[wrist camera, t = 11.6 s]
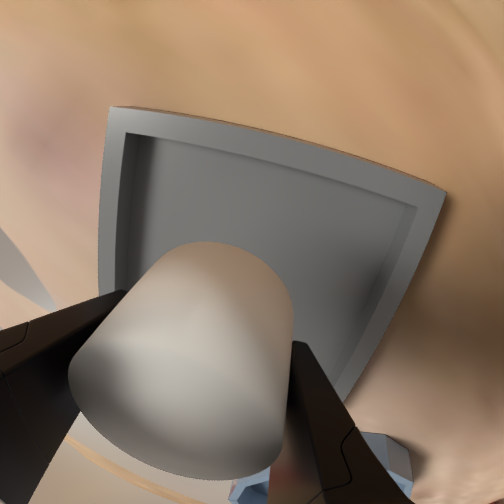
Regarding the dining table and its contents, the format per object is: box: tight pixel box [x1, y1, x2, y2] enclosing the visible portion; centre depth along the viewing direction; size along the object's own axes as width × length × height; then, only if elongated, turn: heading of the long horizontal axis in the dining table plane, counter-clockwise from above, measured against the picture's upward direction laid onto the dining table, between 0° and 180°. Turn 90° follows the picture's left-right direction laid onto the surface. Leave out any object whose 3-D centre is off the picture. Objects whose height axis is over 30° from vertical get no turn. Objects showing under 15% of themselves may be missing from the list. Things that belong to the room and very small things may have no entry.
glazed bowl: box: [228, 432, 414, 504], centre depth 26 cm, size 18×18×4 cm
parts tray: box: [98, 106, 447, 403], centre depth 18 cm, size 17×17×2 cm
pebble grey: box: [68, 242, 294, 480], centre depth 8 cm, size 5×5×4 cm
